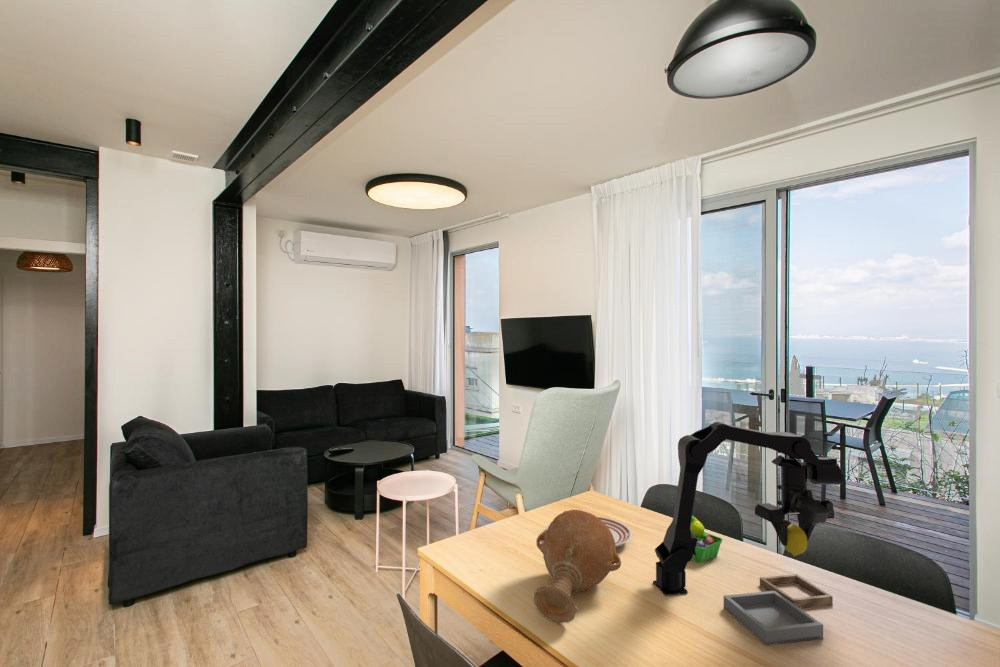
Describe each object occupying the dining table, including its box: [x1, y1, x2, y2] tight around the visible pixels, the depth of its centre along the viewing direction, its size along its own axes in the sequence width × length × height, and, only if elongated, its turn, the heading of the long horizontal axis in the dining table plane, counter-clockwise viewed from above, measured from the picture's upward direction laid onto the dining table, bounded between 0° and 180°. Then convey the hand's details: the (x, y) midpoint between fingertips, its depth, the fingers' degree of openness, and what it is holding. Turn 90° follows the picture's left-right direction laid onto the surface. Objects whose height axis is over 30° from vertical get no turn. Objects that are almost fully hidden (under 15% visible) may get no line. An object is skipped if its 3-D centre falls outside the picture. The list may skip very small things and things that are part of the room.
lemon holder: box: [759, 573, 834, 609], centre depth 118 cm, size 11×11×2 cm
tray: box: [723, 590, 824, 646], centre depth 106 cm, size 14×14×3 cm
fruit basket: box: [690, 515, 723, 564], centre depth 140 cm, size 11×9×11 cm
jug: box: [532, 509, 622, 624], centre depth 118 cm, size 20×19×30 cm
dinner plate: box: [545, 515, 633, 548], centre depth 152 cm, size 28×27×3 cm
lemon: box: [783, 523, 808, 557], centre depth 118 cm, size 6×6×8 cm
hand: (794, 544), depth 118 cm, fingers closed on lemon, 6 cm apart
